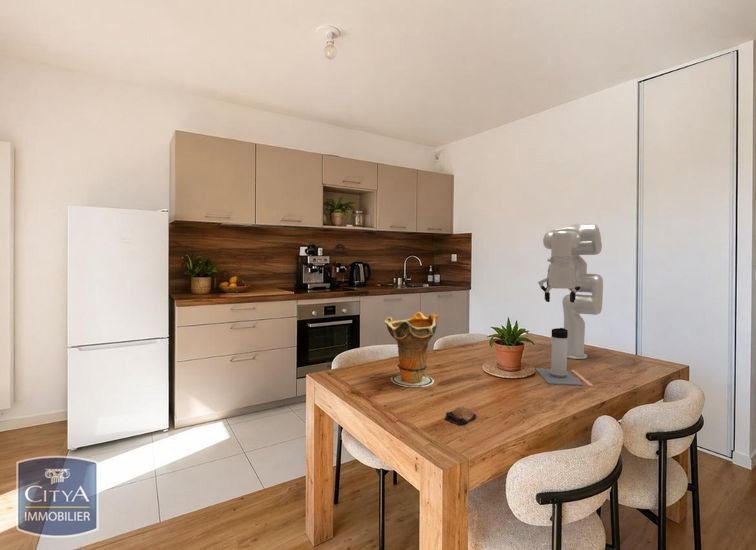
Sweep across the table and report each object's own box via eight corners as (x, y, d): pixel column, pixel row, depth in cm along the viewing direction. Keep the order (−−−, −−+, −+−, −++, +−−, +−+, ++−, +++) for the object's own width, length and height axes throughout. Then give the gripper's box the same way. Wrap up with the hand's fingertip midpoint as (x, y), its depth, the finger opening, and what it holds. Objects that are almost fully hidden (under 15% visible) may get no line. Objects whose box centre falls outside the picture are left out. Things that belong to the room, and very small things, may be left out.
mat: (535, 369, 173) (535, 368, 173) (565, 370, 171) (565, 369, 171) (548, 384, 153) (548, 382, 153) (583, 385, 151) (583, 384, 151)
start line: (571, 370, 171) (571, 370, 171) (574, 370, 171) (574, 370, 171) (589, 386, 151) (589, 385, 151) (593, 386, 151) (593, 385, 151)
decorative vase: (373, 380, 156) (375, 312, 155) (408, 371, 173) (410, 309, 172) (413, 393, 142) (417, 318, 141) (447, 381, 159) (450, 314, 158)
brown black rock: (457, 411, 129) (457, 400, 128) (480, 418, 123) (480, 406, 123) (440, 421, 121) (440, 409, 121) (464, 429, 115) (464, 417, 115)
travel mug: (568, 375, 163) (570, 328, 161) (563, 379, 158) (565, 331, 157) (553, 372, 167) (554, 326, 166) (548, 375, 162) (549, 329, 161)
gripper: (541, 261, 157) (540, 302, 158) (586, 261, 155) (585, 303, 156) (536, 260, 164) (535, 300, 165) (579, 260, 162) (578, 301, 163)
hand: (559, 301), depth 161 cm, fingers open, 9 cm apart
